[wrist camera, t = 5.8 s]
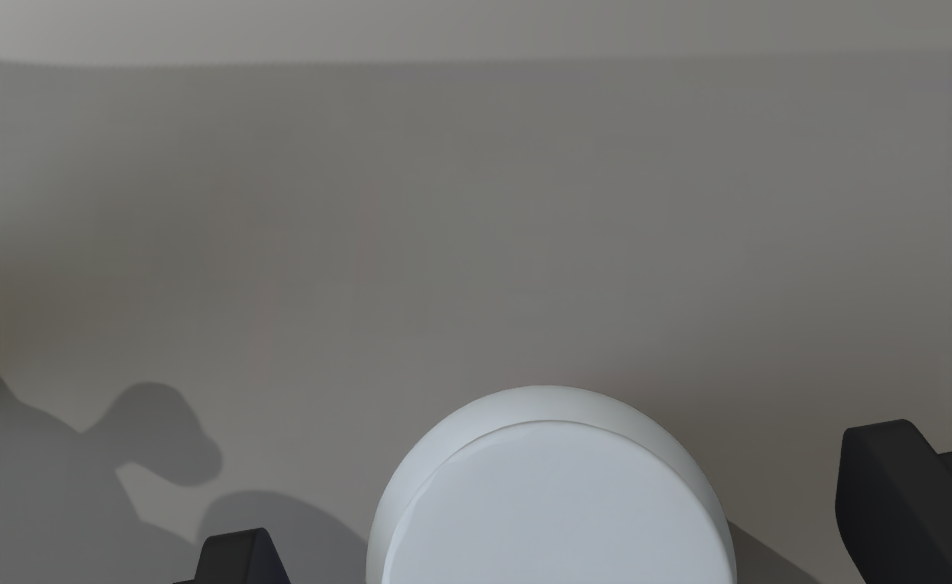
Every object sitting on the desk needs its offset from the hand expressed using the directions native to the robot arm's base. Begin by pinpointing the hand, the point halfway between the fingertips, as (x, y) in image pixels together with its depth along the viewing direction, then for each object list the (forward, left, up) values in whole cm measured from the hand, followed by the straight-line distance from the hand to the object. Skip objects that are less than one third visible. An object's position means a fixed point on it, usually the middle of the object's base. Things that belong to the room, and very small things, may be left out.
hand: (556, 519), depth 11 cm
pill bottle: (-1, +1, -8) cm, 8 cm away
